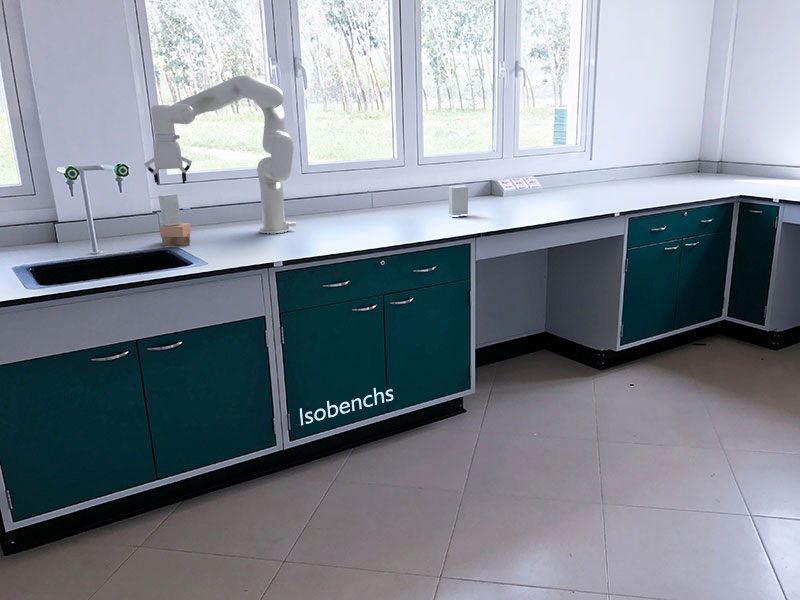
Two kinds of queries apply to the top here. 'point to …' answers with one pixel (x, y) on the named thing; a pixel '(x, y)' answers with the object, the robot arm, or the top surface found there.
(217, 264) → the top surface
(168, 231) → the tower top block
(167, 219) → the skincare box
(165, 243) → the tower base block
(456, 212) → the skincare box
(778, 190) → the top surface
